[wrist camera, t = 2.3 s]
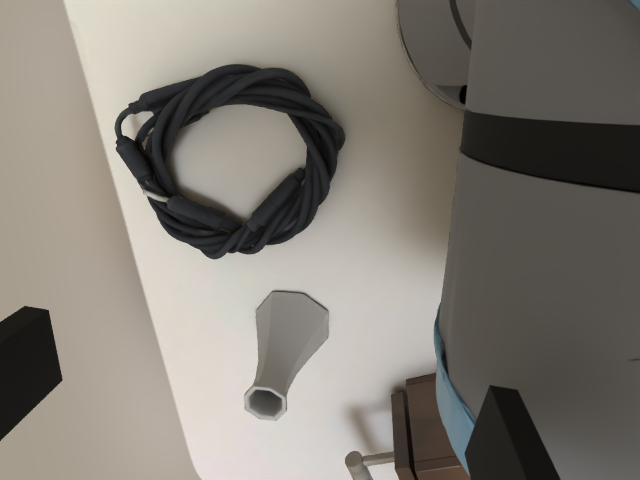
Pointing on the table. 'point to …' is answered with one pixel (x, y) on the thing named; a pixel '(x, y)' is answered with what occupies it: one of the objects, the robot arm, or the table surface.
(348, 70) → the table surface
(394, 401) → the drawer
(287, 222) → the cable
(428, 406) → the cabinet
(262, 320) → the flask
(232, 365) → the table surface
